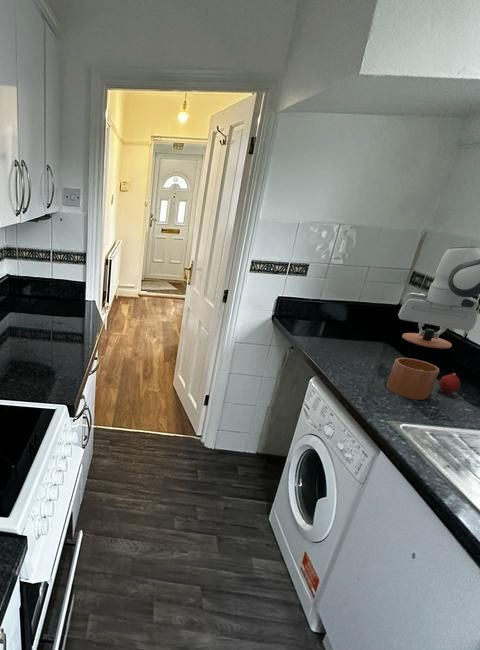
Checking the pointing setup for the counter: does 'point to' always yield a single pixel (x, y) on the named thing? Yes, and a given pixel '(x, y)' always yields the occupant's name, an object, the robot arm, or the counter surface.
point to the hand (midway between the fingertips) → (427, 337)
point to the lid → (427, 339)
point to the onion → (449, 383)
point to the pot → (412, 378)
